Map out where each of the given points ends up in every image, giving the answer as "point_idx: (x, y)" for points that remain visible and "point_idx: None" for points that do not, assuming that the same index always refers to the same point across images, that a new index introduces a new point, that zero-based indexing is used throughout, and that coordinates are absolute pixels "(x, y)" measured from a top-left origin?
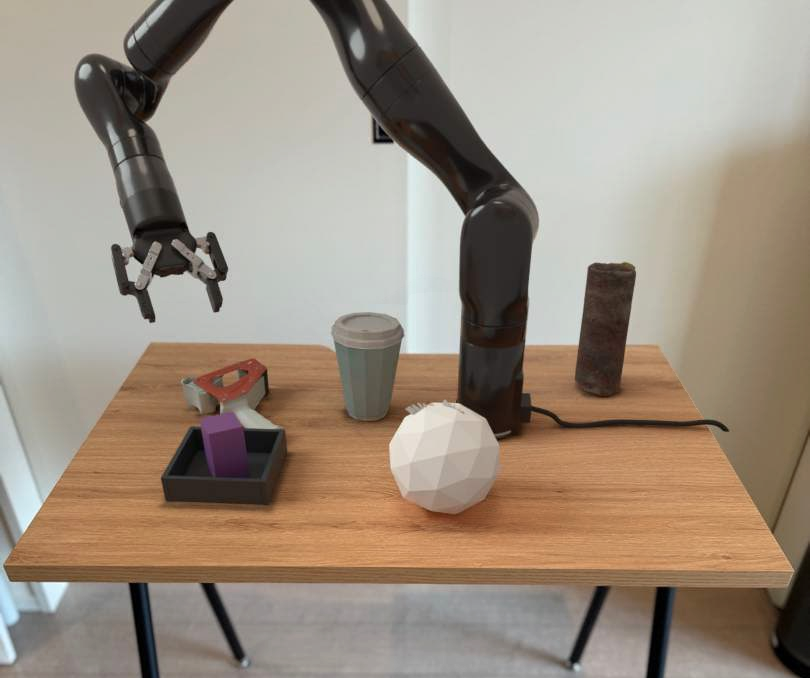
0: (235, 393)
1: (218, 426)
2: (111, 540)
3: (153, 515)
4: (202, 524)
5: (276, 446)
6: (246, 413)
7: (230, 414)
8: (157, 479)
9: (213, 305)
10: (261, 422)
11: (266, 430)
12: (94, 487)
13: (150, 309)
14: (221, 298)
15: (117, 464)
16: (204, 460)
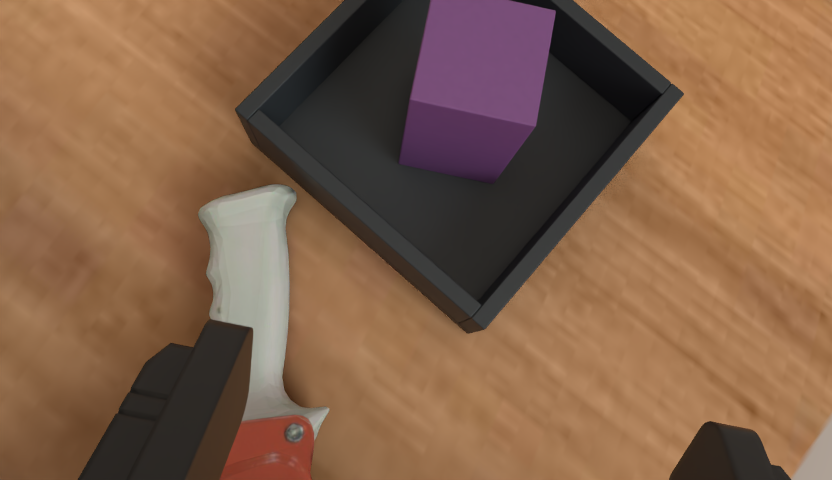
0: (233, 449)
1: (505, 33)
2: (803, 78)
3: (686, 110)
4: (600, 2)
5: (318, 34)
6: (256, 345)
7: (428, 84)
8: (617, 263)
9: (242, 376)
10: (245, 262)
11: (288, 141)
12: (777, 333)
13: (752, 459)
14: (153, 370)
15: (686, 417)
16: (478, 243)
